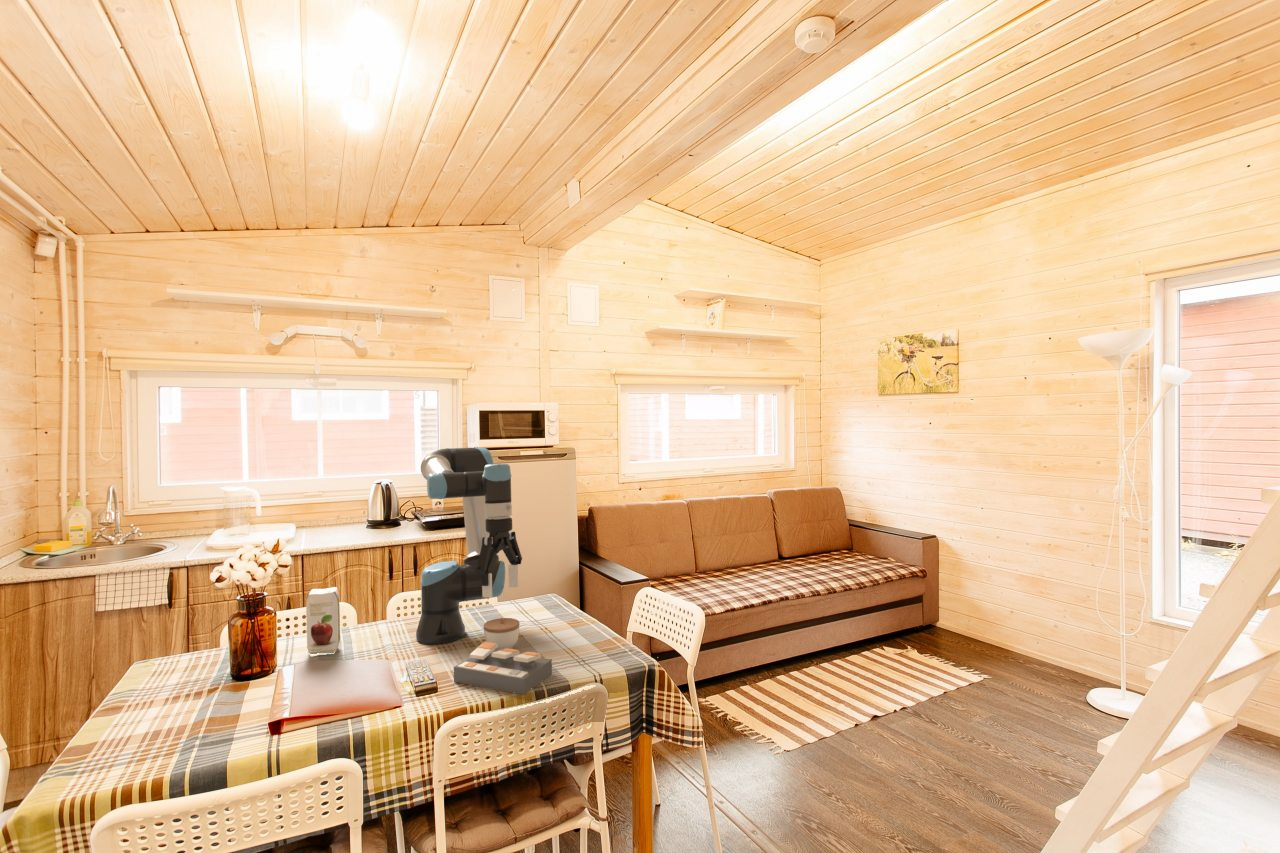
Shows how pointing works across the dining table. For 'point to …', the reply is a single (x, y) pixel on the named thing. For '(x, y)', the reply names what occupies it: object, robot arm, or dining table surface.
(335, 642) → the juice carton
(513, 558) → the robot arm
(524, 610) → the dining table surface
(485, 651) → the switch
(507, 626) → the lidded jar
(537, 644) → the dining table surface
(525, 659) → the switch
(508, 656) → the switch
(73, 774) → the dining table surface
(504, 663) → the switch unit
